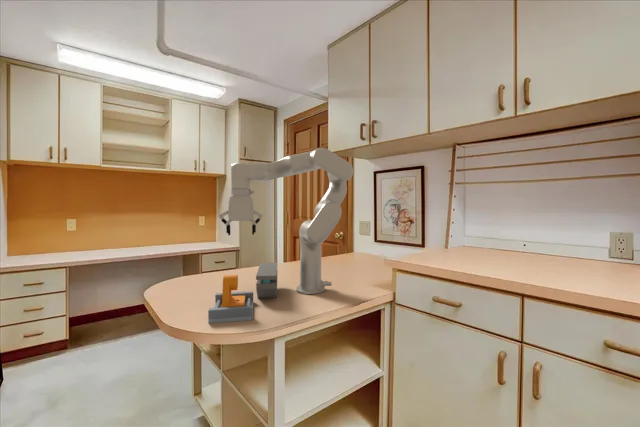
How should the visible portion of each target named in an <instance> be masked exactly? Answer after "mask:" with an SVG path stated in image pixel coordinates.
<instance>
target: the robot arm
mask: <svg viewBox="0 0 640 427" xmlns="http://www.w3.org/2000/svg"><path fill="white" fill-rule="evenodd" d="M230 167H231V168H230V181H231V182H230V183H231V184H230V185H231V188H230V190H231V191H230V193H231V194H230V196H229V199H228V207H227V208H228V210H226V211H225V212H223V213H220V214H219V215H218V217H219V219H220V220H221V222H222V223H223V224H224V225H225V227H226V228H225V229H226V230H225V231H226V234H227V235H228V236H230V235H231V223H232V221H233V222H234V221H235V222H238V221H239V222H243V221H244V222H245V221H250V223H251V227H252V228H251V233H252V235H253V236H254V235H255V233H256V231H257V230H256V227H257V225H258V223H259V222H260V221H261V219H262V217H263V214H262V213H260V212H258V211H256V210H255V209H254V201H253V200H254V199H253V197H252V196H251V195H254V192H255V191H254V190H253V189H252V190H251V181H253V182H255V183H263V182H267V181H272V180H275V179H279V178H285V177H286V178H287V177H291V176H295V175H296V176H297V175H300V174H305V173H309V172H312V171H319V170H321V169H322V170H324V171H325V172H327V174H326V175H327V178H328V181H329V186H328V189H327V190H326V192H325V194H324V195H323V196H322V198H320V201H319V202H318V203H317V205H316V206H315V208H314V212H313V213H314V218H313V219H308V220H305V221H303V223H301V225H300V227H299V230H298V235H299V250H300V251H299V252H300V255H299V256H300V257H299V262H300V263H299V275H300V276H299V285H297V286H296V291H297V292H298V293H300V294H304V295H316V294H321V293H323V292H324V291H325V287H330V286H331V287H332V281H328V280H323V279H322V243H324V242H325V241H326V240H327V239H328V237H329V236H330V235H331V233H332V232H333V230H334V229H335V228H336V226H337V224H338V223H339V221H340V220H341V217H342V212H343V210H342V207H341V204H342V203H343V201H344V199H345V197H346V195H347V193H348V192H347V191H348V186H347V185H348V184H347V181H349V180H351V178H352V177H353V175H354V168H353V165H352V164H351V163H350V162H349V161H347V160H345V159H344V158H343V157H341V156H340V155H338V154H336V153H334V152H333V151H331V150H329V149H327V148H325V147H318V148H316V149H314V150H310V151H306V152H301V153H297V154H291V155H287V156H285V157H283V158H281V159H278V160H276V161H272V162H267V163H263V162H254V163H253V162H252V163H246V162H234V163H233V164H232V163H231V166H230ZM226 215H227V218H228V220H226V219H225V218H224V217H225V216H226ZM254 215H256V216H257V218H256V220H255V219H254Z"/></svg>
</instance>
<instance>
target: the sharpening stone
mask: <svg viewBox="0 0 640 427" xmlns="http://www.w3.org/2000/svg"><path fill="white" fill-rule="evenodd" d="M255 281H256V284H255V286H256V287H255V288H256V289H255V290H256V296H257V299H266V298H267V299H268V298H270V299H271V298H277V296H278V262H260V264H259V266H258V269H257V272H256V276H255Z"/></svg>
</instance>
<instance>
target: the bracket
mask: <svg viewBox="0 0 640 427" xmlns="http://www.w3.org/2000/svg"><path fill="white" fill-rule="evenodd" d="M238 277H239V276H238V274H227V275H226V274H224V275H223V278H222V292H221V293H222V307H238V306H245V296H232V295H231V293H232V291H237V290H238V288H239V287H238V286H239V284H238V283H239V281H238V280H239V278H238Z"/></svg>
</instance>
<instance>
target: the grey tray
mask: <svg viewBox="0 0 640 427" xmlns="http://www.w3.org/2000/svg"><path fill="white" fill-rule="evenodd" d="M222 293H223V292H219V293H218V292H217V293H215V295H214V297H215V298H214V301H215V303H214V306H213V307H209V309H207V310H208V316H207V317H208V319H207V320H208V324H215V323H229V322H230V323H231V322H244V321H253V318H254V317H253V316H254V291H252V290H251V291H240V292H239V291H236V292H235V291H234V292H231V295H232V296H245V306H238V307H222Z"/></svg>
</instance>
